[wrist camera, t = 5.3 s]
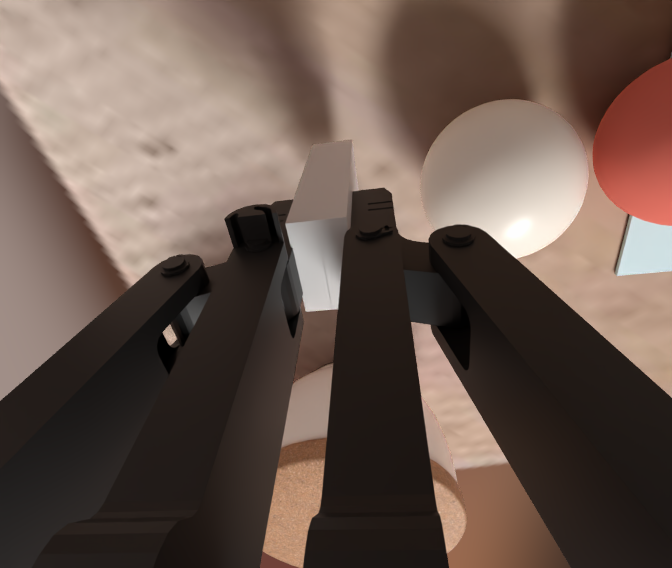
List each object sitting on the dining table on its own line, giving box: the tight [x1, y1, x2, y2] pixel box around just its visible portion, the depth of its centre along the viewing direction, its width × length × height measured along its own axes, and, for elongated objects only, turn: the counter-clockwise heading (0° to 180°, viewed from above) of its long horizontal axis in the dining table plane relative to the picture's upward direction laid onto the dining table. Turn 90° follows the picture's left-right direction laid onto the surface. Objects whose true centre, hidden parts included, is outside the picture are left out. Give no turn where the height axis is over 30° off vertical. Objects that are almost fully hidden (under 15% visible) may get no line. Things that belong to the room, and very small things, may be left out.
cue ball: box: [420, 99, 589, 258], centre depth 15 cm, size 6×6×6 cm
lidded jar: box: [263, 363, 467, 568], centre depth 22 cm, size 11×11×9 cm
